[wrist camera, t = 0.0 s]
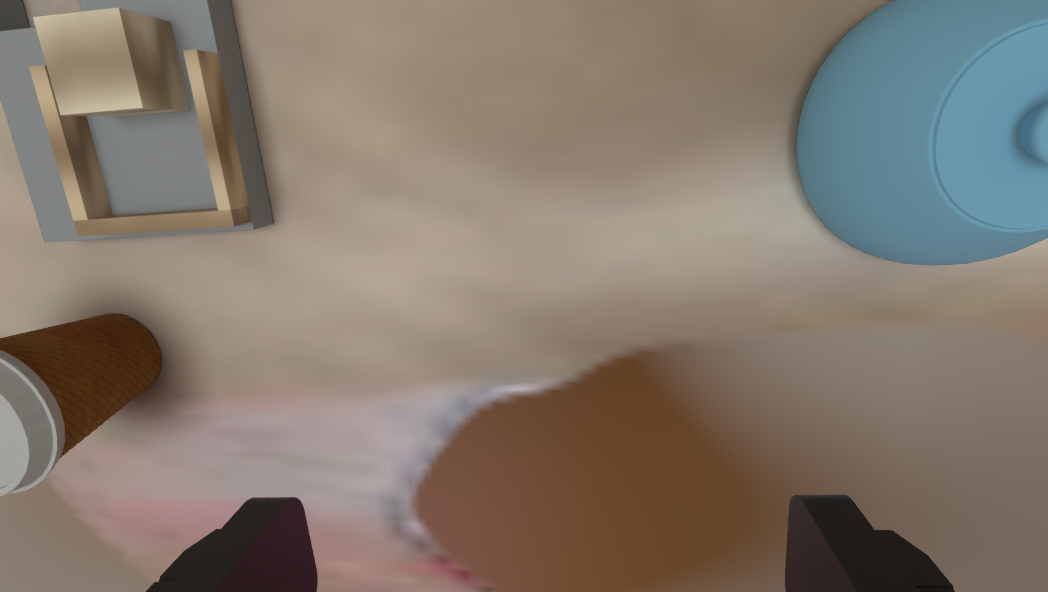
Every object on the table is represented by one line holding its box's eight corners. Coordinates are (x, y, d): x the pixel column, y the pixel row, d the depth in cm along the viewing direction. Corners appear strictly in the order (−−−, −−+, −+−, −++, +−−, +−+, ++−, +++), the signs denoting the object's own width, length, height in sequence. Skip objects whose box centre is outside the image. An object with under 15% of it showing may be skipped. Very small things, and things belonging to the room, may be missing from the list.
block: (94, 30, 34) (32, 17, 30) (171, 21, 34) (118, 7, 30) (116, 117, 36) (60, 115, 32) (190, 110, 35) (142, 107, 31)
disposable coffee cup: (172, 296, 41) (16, 358, 30) (190, 414, 44) (52, 513, 33) (51, 288, 42) (-147, 347, 31) (75, 405, 45) (-99, 499, 33)
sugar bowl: (796, -2, 33) (908, -70, 21) (1083, -18, 31) (1363, -101, 20) (774, 256, 37) (858, 310, 26) (1026, 252, 35) (1232, 308, 24)
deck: (-44, -178, 34) (-91, -201, 32) (188, -214, 32) (157, -242, 30) (76, 236, 41) (44, 242, 38) (273, 223, 39) (253, 229, 37)
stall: (58, 70, 35) (28, 66, 33) (218, 54, 34) (196, 49, 32) (103, 231, 38) (77, 236, 36) (252, 221, 37) (234, 226, 35)
